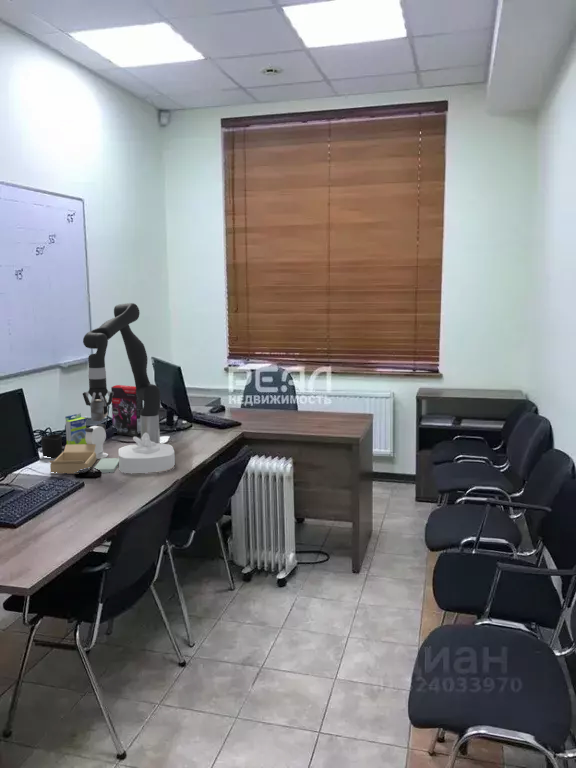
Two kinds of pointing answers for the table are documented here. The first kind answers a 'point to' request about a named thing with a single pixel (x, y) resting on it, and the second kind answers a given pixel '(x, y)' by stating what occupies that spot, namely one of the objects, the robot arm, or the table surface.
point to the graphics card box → (126, 410)
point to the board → (107, 464)
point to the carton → (74, 458)
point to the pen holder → (52, 445)
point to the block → (97, 410)
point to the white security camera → (97, 439)
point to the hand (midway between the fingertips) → (99, 414)
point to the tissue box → (145, 456)
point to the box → (75, 429)
